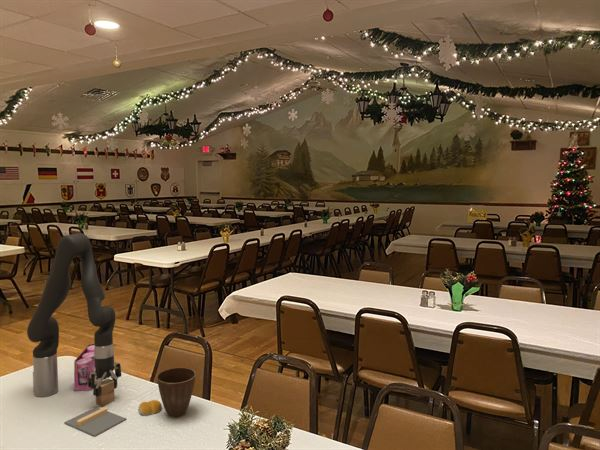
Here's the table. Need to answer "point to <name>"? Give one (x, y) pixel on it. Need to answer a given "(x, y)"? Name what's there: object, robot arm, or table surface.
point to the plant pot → (176, 390)
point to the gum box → (84, 368)
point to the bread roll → (149, 407)
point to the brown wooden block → (105, 393)
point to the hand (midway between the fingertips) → (105, 392)
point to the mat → (95, 421)
